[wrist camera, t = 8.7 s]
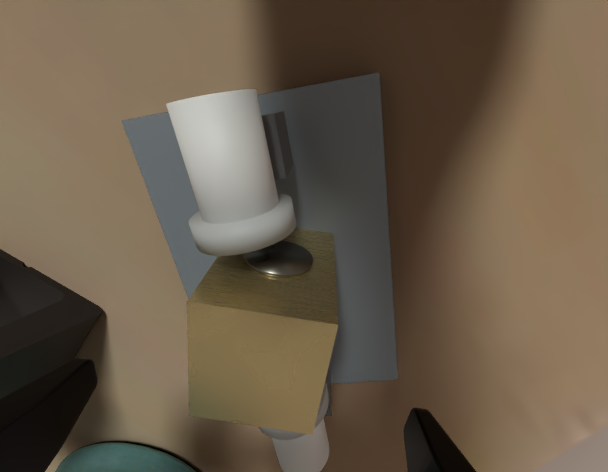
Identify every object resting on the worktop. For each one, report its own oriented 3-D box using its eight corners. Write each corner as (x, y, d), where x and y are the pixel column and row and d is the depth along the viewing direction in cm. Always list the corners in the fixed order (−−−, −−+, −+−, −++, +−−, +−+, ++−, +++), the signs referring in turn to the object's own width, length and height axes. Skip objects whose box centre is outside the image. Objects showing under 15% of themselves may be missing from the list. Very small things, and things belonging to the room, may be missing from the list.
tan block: (316, 317, 15) (312, 437, 10) (237, 305, 15) (189, 419, 10) (333, 230, 13) (339, 320, 8) (243, 216, 13) (186, 296, 8)
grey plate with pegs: (135, 119, 13) (-6, 133, 7) (375, 74, 12) (419, 52, 6) (227, 376, 19) (187, 492, 13) (394, 365, 18) (426, 487, 12)
